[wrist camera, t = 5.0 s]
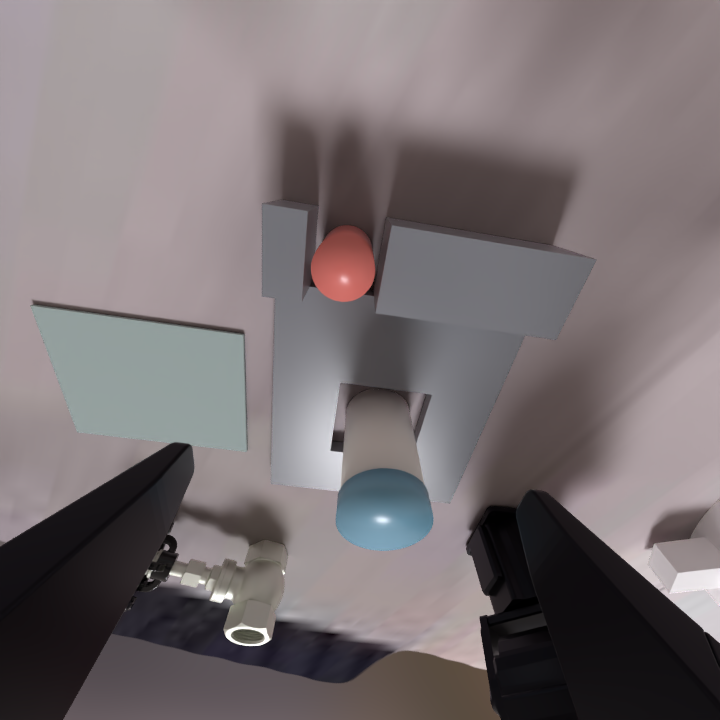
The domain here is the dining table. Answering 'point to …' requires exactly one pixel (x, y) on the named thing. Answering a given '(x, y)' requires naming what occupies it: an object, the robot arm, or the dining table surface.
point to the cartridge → (381, 475)
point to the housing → (404, 336)
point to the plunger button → (344, 264)
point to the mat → (148, 378)
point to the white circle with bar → (691, 559)
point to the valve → (230, 586)
